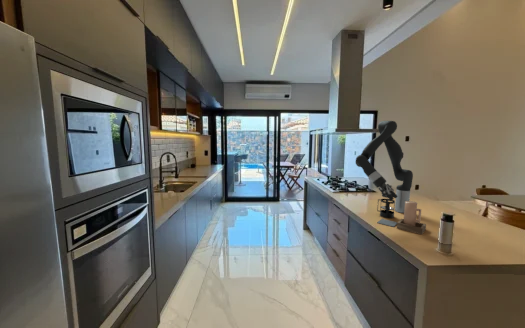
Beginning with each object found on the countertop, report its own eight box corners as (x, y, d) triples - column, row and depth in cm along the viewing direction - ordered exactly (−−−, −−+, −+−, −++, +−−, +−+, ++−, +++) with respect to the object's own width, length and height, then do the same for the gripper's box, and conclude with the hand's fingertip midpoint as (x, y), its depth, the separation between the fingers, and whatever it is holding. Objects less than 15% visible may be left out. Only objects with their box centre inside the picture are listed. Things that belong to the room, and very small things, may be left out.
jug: (404, 225, 147) (406, 200, 145) (420, 229, 141) (422, 203, 139) (401, 228, 143) (403, 202, 141) (418, 232, 137) (420, 205, 135)
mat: (382, 219, 158) (382, 218, 158) (398, 223, 151) (398, 222, 151) (377, 223, 151) (377, 222, 151) (393, 227, 144) (393, 226, 144)
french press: (394, 215, 168) (396, 184, 165) (395, 219, 159) (398, 187, 157) (376, 213, 172) (378, 183, 170) (377, 216, 164) (379, 185, 161)
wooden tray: (401, 223, 150) (401, 218, 150) (425, 229, 141) (426, 224, 141) (396, 228, 143) (397, 222, 142) (422, 234, 133) (422, 228, 133)
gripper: (377, 176, 147) (396, 197, 140) (384, 174, 157) (402, 193, 150) (368, 183, 151) (386, 203, 145) (376, 181, 161) (393, 199, 155)
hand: (394, 198), depth 147 cm, fingers open, 8 cm apart
